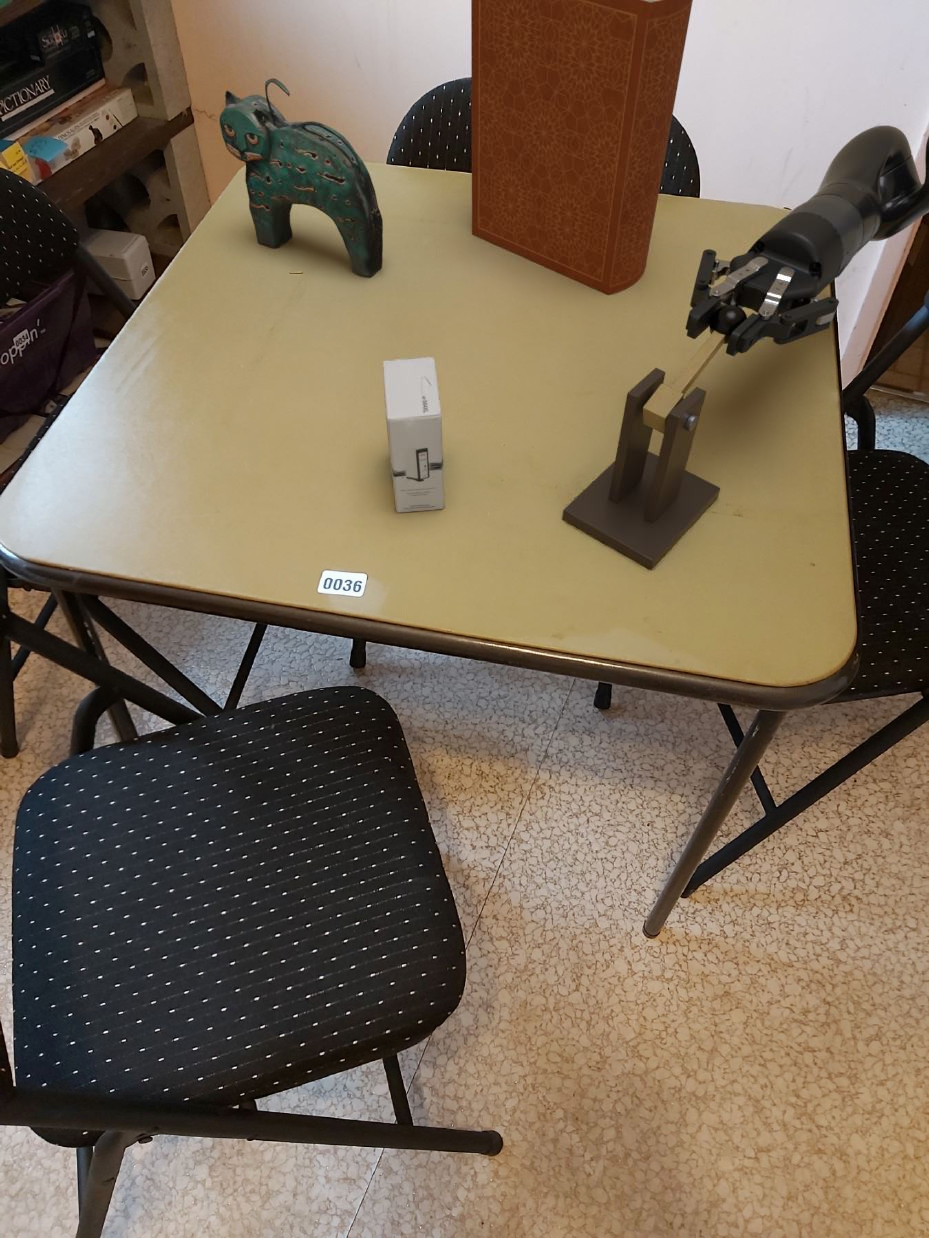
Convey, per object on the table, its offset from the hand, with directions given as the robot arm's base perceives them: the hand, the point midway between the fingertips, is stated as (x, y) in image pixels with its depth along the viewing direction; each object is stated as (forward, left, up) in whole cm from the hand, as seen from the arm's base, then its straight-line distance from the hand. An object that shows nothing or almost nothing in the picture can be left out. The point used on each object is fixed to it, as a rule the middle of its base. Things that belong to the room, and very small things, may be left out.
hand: (712, 337), depth 71 cm
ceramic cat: (+57, -6, -16) cm, 59 cm away
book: (+33, -26, -16) cm, 45 cm away
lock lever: (0, +1, -4) cm, 4 cm away
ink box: (+19, +17, -16) cm, 30 cm away
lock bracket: (0, +6, -16) cm, 17 cm away
